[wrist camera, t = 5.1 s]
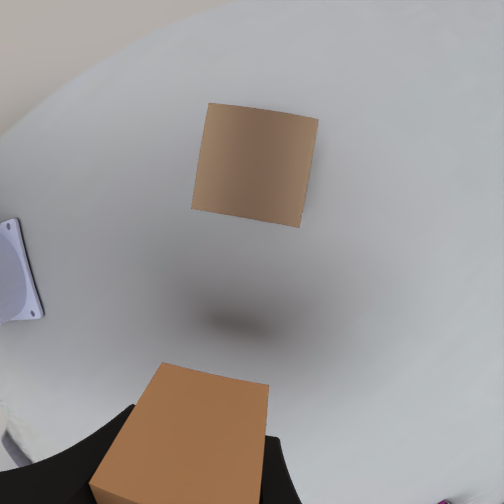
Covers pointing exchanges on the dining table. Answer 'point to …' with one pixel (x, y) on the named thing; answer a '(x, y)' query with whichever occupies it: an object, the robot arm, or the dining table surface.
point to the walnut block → (254, 163)
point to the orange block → (188, 443)
